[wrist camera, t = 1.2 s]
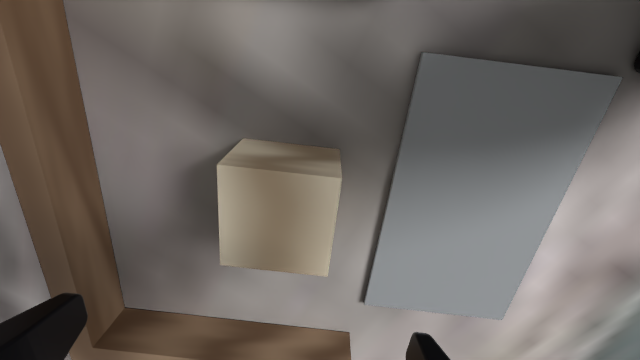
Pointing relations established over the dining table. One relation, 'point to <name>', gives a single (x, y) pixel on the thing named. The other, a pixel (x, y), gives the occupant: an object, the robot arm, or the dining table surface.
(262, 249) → the birch block
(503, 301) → the grey mat
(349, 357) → the walnut u-shaped frame
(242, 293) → the dining table surface
